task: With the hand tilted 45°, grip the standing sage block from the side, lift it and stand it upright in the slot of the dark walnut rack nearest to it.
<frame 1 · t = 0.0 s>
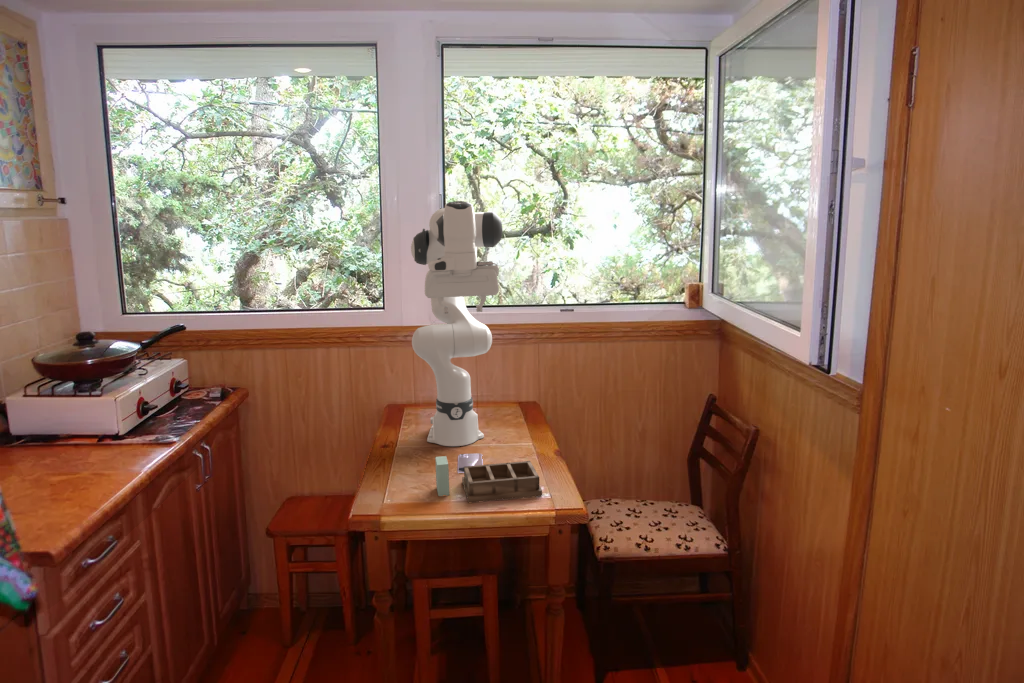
hand: (462, 312, 197), 48 cm above the table, tool pointing down, fingers open, 8 cm apart
sage block: (442, 491, 197), on the table
walnut rack: (501, 488, 198), on the table
mobile phone: (470, 465, 216), on the table
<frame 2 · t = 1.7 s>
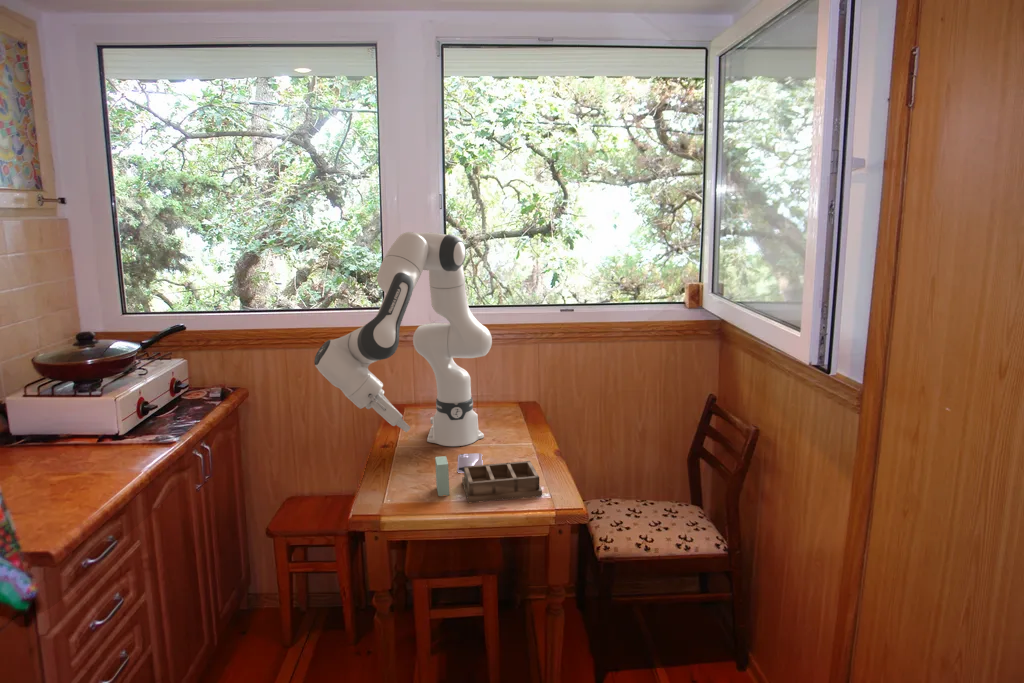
hand: (404, 425, 190), 20 cm above the table, tool tilted 40°, fingers open, 8 cm apart
nothing on the table moved.
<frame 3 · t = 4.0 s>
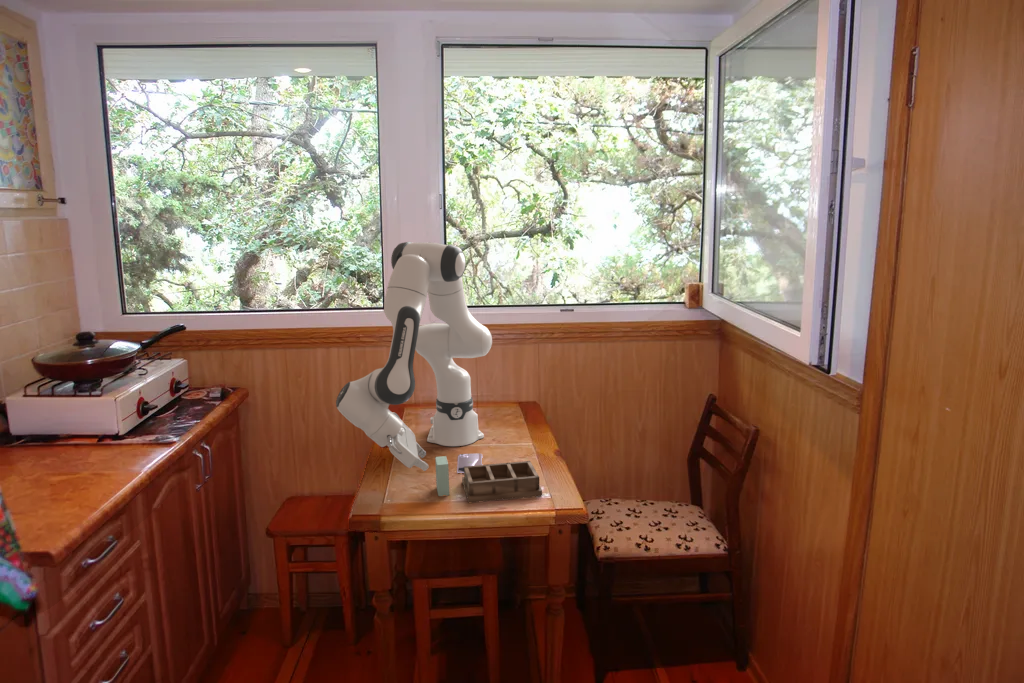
hand: (425, 461, 194), 9 cm above the table, tool tilted 45°, fingers open, 8 cm apart
nothing on the table moved.
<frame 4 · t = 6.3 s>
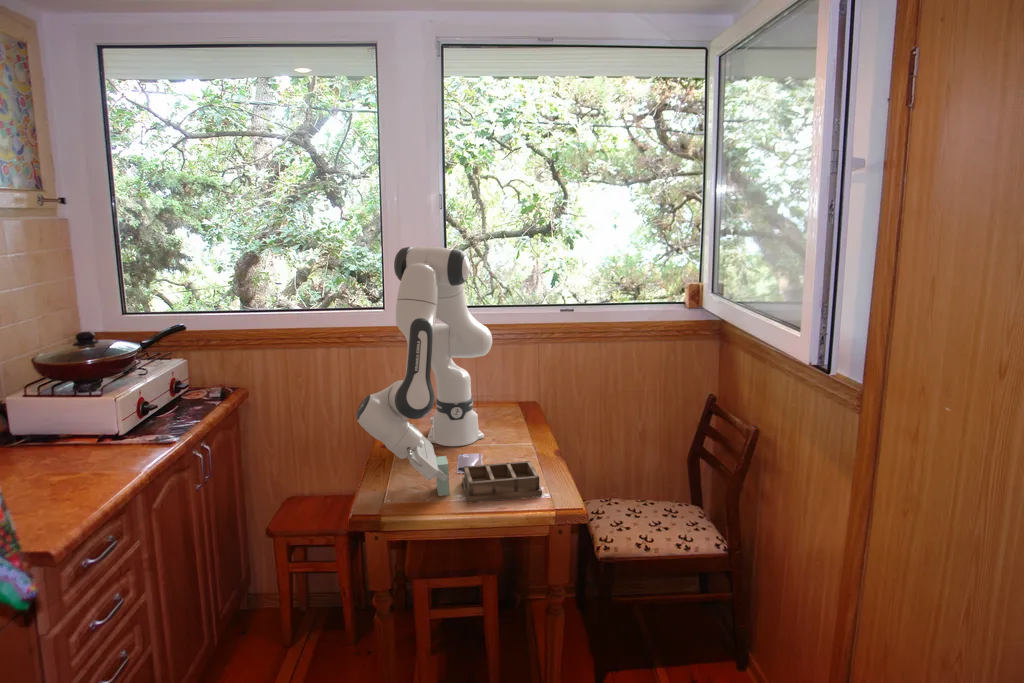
hand: (444, 473, 196), 5 cm above the table, tool tilted 45°, fingers closed on sage block, 6 cm apart
sage block: (442, 491, 197), on the table, touching gripper
everything else where it was.
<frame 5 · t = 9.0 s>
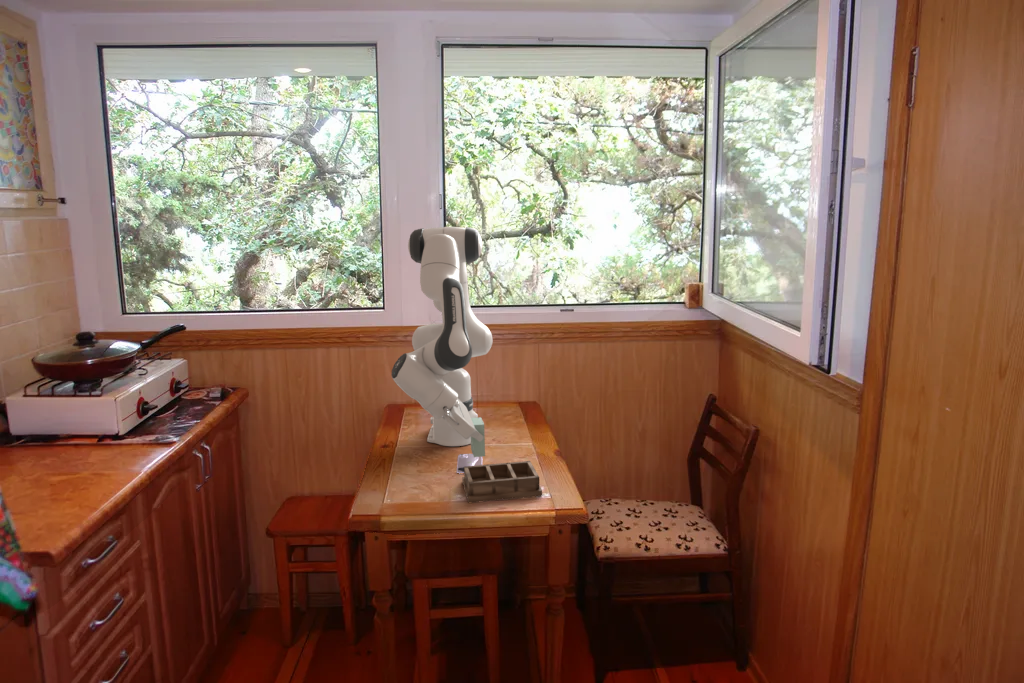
hand: (479, 434, 193), 16 cm above the table, tool tilted 45°, fingers closed on sage block, 6 cm apart
sage block: (477, 452, 194), point 11 cm above the table, touching gripper
everything else where it was.
when the fingers open (8 cm above the table, at t = 11.9 s): sage block drops 1 cm, resting on walnut rack.
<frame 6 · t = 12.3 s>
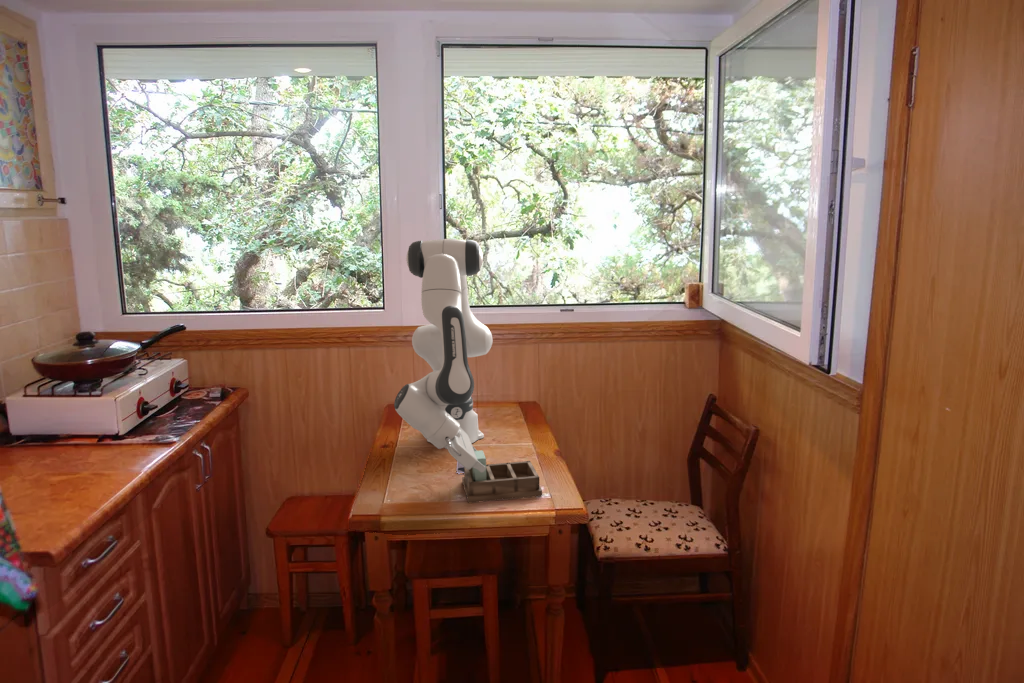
hand: (481, 463, 195), 8 cm above the table, tool tilted 45°, fingers open, 8 cm apart
sage block: (479, 485, 197), point 1 cm above the table, touching walnut rack
everything else where it was.
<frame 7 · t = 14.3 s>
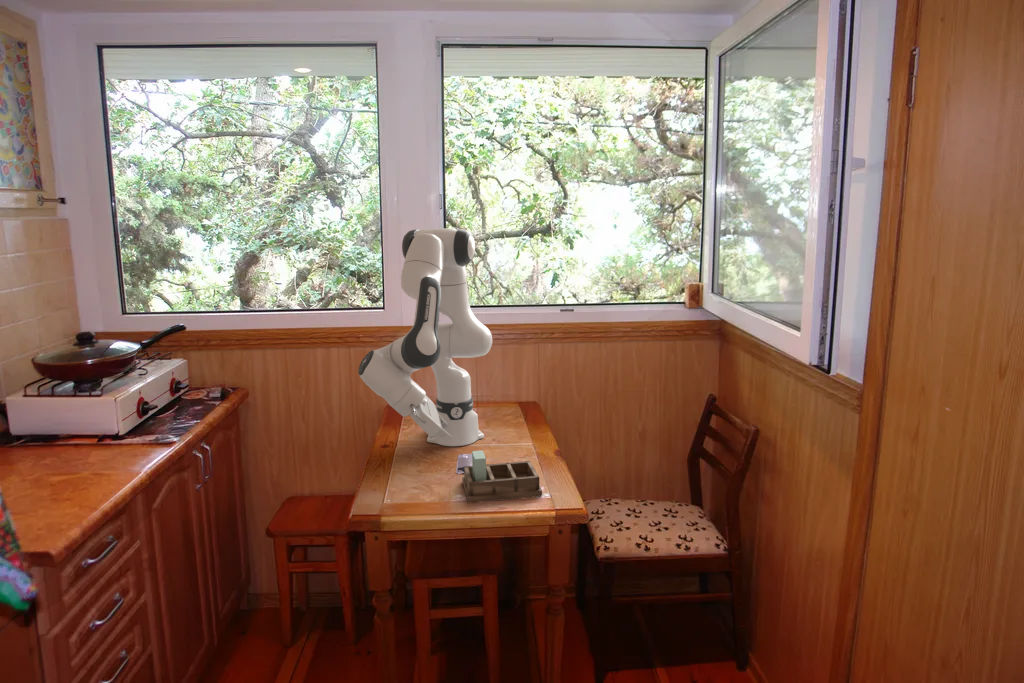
hand: (447, 432, 192), 17 cm above the table, tool tilted 45°, fingers open, 8 cm apart
nothing on the table moved.
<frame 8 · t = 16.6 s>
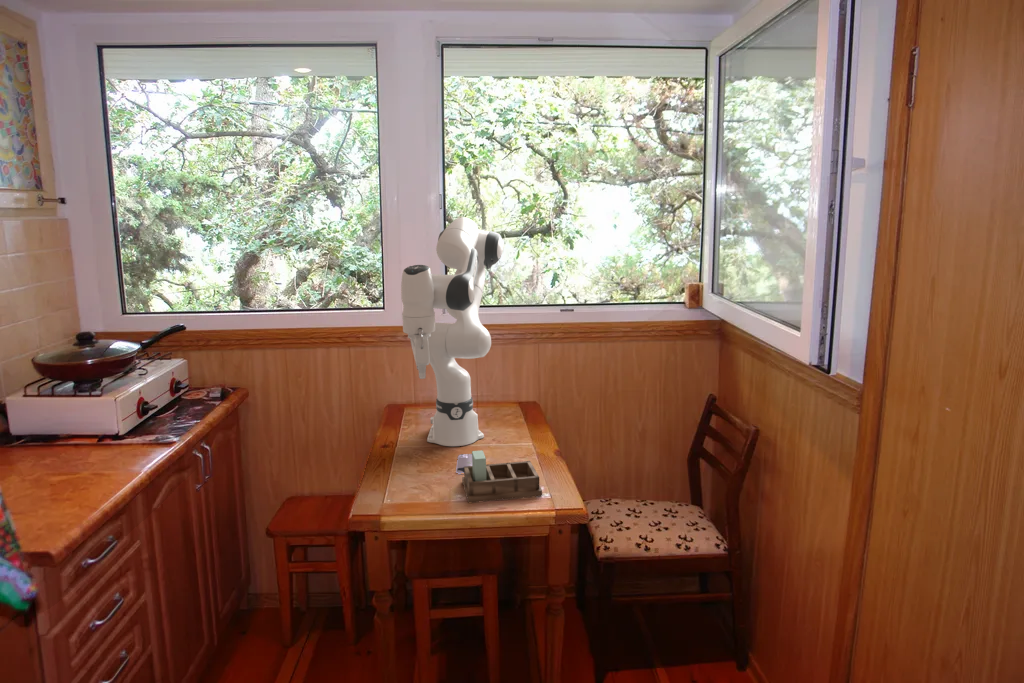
hand: (421, 373, 199), 31 cm above the table, tool pointing down, fingers open, 8 cm apart
nothing on the table moved.
at the end: sage block 0.1 cm from the target spot on the walnut rack, point 1.5 cm above the walnut rack's base; sage block tilted 0°; the gripper is holding nothing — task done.
